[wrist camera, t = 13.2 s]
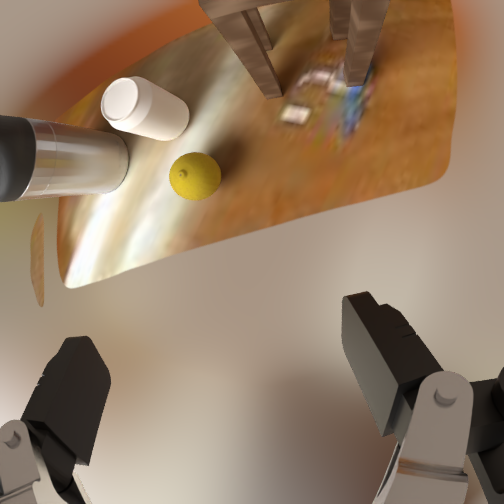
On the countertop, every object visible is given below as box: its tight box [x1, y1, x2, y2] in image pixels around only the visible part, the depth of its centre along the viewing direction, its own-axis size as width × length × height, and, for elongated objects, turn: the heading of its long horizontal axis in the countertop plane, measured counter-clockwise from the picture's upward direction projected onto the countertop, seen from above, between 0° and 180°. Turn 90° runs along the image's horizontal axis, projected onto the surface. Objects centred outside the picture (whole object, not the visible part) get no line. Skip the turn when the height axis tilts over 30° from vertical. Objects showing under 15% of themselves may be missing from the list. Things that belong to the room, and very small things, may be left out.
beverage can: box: [101, 76, 189, 141], centre depth 32 cm, size 6×6×12 cm
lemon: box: [169, 152, 221, 200], centre depth 34 cm, size 6×6×8 cm
